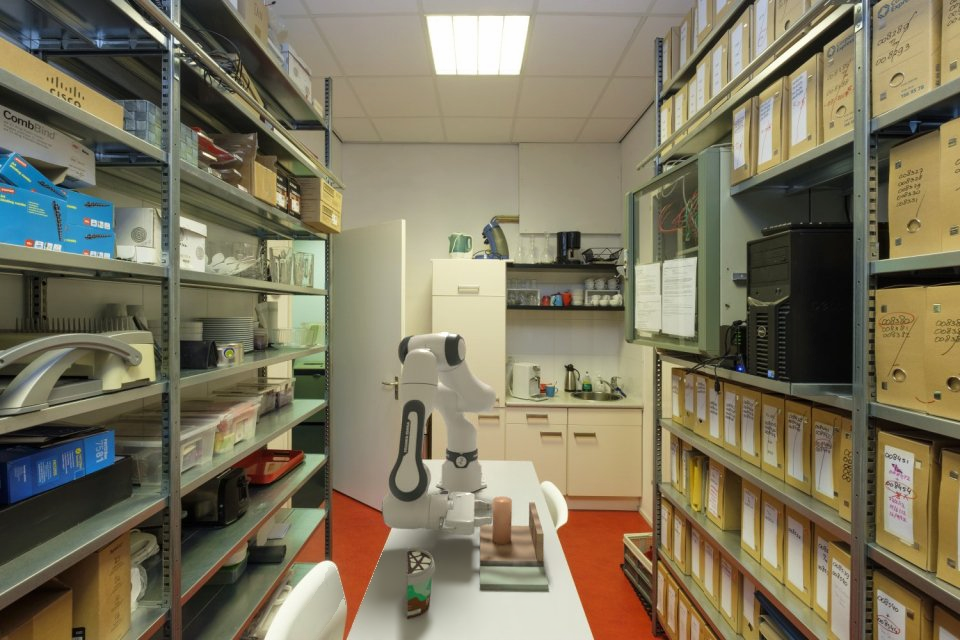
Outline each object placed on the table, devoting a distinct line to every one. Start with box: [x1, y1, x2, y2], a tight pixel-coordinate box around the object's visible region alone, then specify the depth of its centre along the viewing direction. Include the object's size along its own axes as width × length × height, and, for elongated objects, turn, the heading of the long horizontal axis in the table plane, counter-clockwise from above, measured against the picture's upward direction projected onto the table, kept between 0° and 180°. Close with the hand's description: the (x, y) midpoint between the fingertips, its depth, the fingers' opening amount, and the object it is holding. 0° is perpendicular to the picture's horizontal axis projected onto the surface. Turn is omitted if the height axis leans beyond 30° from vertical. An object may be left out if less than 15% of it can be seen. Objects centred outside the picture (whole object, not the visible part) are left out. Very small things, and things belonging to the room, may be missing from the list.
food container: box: [406, 547, 436, 620], centre depth 104 cm, size 12×6×10 cm, turn 9°
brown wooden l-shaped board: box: [479, 501, 549, 591], centre depth 124 cm, size 29×16×9 cm, turn 0°
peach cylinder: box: [492, 496, 513, 544], centre depth 130 cm, size 5×5×11 cm
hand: (491, 512), depth 130 cm, fingers open, 8 cm apart
